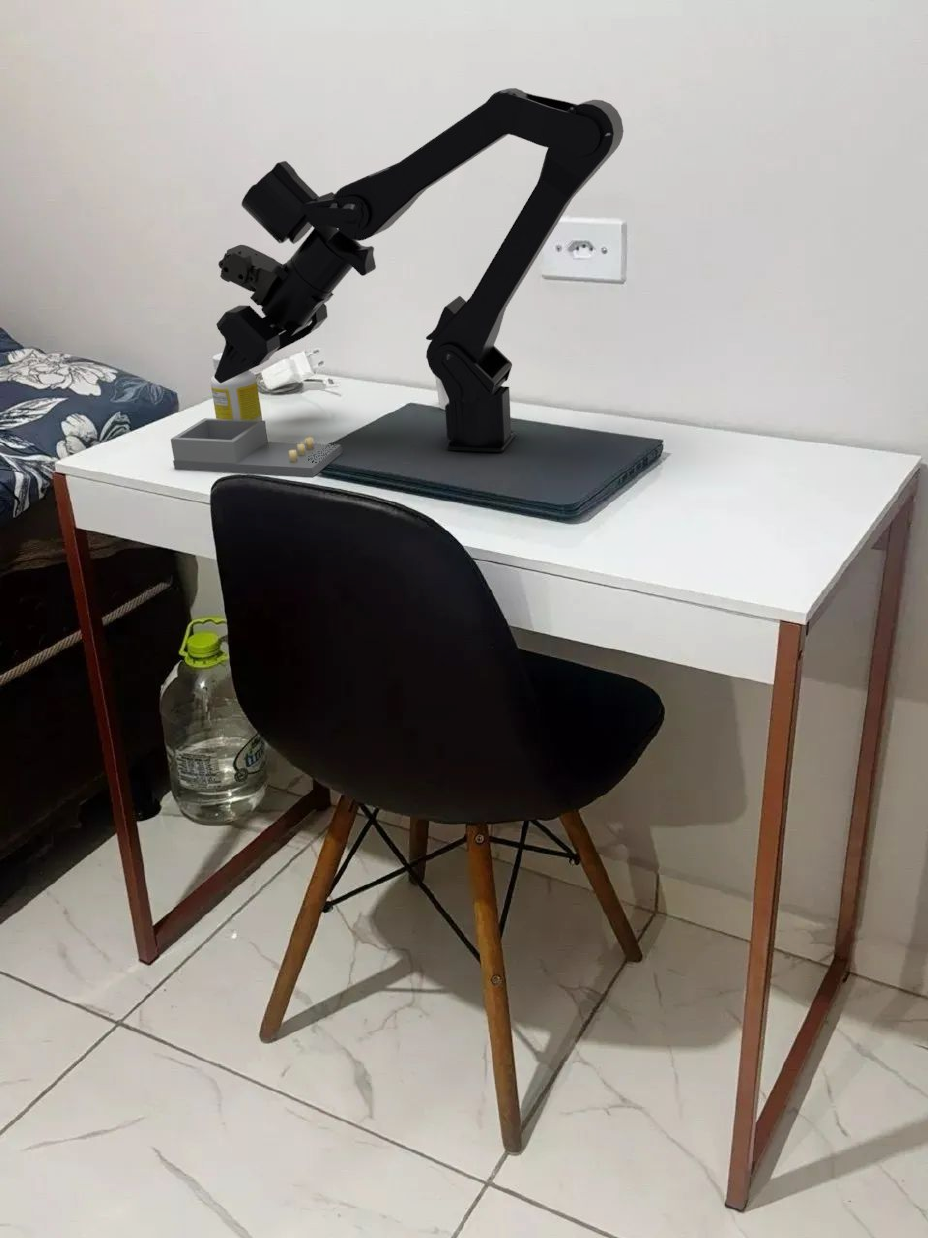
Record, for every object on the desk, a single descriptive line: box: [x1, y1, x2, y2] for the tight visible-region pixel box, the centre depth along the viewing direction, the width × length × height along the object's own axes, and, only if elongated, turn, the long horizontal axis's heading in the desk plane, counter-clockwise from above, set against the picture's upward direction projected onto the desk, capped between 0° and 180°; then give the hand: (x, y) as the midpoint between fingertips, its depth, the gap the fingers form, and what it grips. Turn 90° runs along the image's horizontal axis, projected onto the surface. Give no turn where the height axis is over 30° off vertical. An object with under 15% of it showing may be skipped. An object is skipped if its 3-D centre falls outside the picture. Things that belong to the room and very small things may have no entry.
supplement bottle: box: [210, 352, 263, 421], centre depth 140 cm, size 5×5×10 cm
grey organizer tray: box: [170, 418, 343, 478], centre depth 133 cm, size 17×8×4 cm, turn 73°
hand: (235, 369), depth 139 cm, fingers open, 9 cm apart
